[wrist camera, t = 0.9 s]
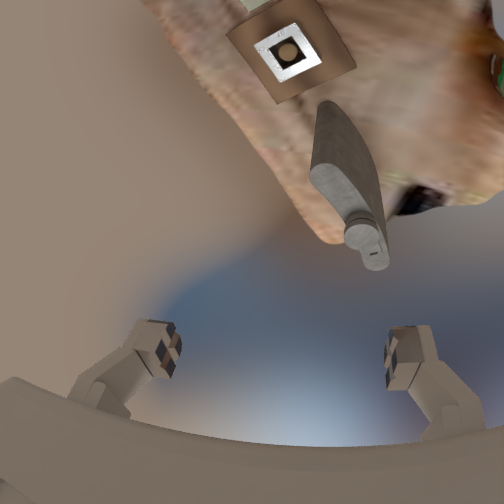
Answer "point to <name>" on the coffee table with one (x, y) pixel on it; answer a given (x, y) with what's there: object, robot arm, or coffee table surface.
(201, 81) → the coffee table surface
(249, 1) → the pad
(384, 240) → the hip flask
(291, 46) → the peg stand
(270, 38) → the collar
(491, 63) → the food container
